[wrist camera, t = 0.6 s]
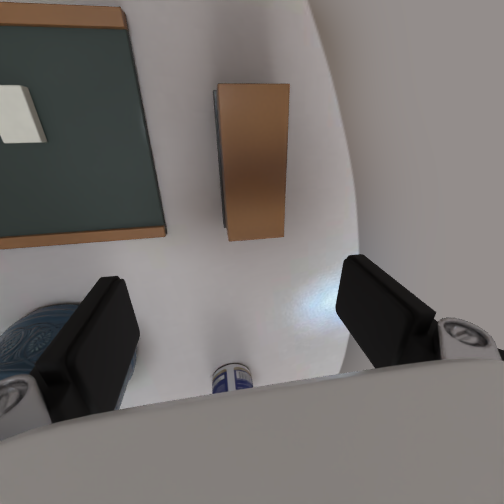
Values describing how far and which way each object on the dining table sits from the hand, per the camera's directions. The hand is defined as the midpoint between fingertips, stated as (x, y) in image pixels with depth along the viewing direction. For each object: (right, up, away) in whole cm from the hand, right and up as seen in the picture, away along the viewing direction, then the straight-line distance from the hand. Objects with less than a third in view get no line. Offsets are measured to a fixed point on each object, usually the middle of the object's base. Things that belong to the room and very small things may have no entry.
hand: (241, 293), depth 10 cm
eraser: (0, +10, +11) cm, 15 cm away
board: (-19, +10, +8) cm, 23 cm away
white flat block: (-16, +12, +7) cm, 21 cm away
